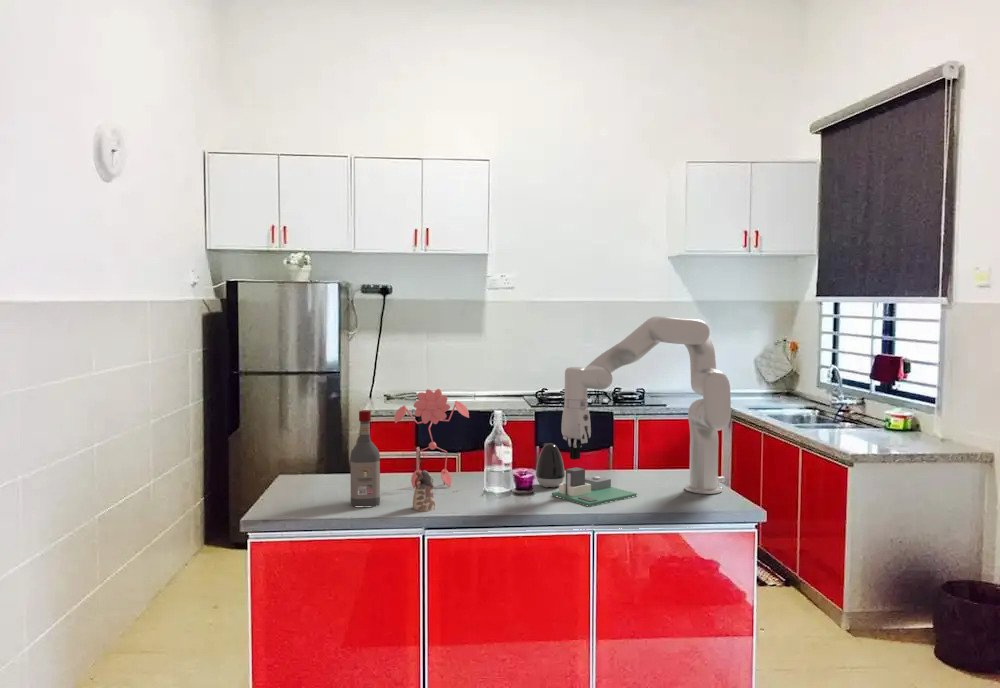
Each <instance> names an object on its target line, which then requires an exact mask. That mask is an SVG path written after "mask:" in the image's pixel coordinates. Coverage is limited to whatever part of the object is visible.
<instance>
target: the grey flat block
mask: <svg viewBox="0 0 1000 688" xmlns="http://www.w3.org/2000/svg"><path fill="white" fill-rule="evenodd" d="M585 483H588V484H591V489H594V490H600V489H605V488H610V487H612V479H611V478H607V477H604V476H603V477H602V476H599V475H594V476H589V477H585Z"/></svg>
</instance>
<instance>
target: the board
mask: <svg viewBox="0 0 1000 688" xmlns="http://www.w3.org/2000/svg"><path fill="white" fill-rule="evenodd" d="M552 495H554V496H553V497H555V496H558V497H561V498H560V499H562V498H564V499H563V500H565V499H567V500H566V501H569V500H571V501H570V502H572V501H574V502H573V503H575V502H578V503H577V504H579V503H581V504H580V505H582V504H584V505H583V506H586V505H588V506H587V507H589V506H590V507H593V506H592V505H594V506H598V505H597V504H599V505H602V504H601V503H604V504H606V503H605V502H608V503H611V502H610V501H613V502H616V501H615V500H618V501H621V500H620V499H622V500H625V499H624V498H627V499H629V498H628V497H631V498H633V497H632V496H636V495H637V496H638V494H637V492H632V491H628V490H624V489H621V488H616V487H612V486H611V487H610V488H605V489H600V490H594V489H591V493H590V494H585V495H580V496H575V497H573V496H569V495H568V494H567V493H566V494H562V493H559V490H558V491H553V492H551V496H552ZM637 496H636V497H637ZM558 497H557V498H558Z"/></svg>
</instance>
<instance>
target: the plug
mask: <svg viewBox="0 0 1000 688" xmlns="http://www.w3.org/2000/svg"><path fill="white" fill-rule="evenodd" d="M585 478H586V469H584V468H581V467H572V468H566V469H565V483H566V493H567V494H568V486H572V487H576V486H582V485H585Z"/></svg>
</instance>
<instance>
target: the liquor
mask: <svg viewBox="0 0 1000 688" xmlns="http://www.w3.org/2000/svg"><path fill="white" fill-rule="evenodd" d="M371 412H372V411H371V410H368V409H367V410H359V411H358V421H359V423H360V426H359V430H360V431H359V435H360V436H359V441H357V443H356V445H355V446H354V447H353V448H352V449H351V452H350V458H349V459H350V460H349V461H350V464H349V465H350V505H351V506H352V505H353V506H375V507H377V506H376V505H378V506H379V505H380V503H381V479H380V478H381V476H380V475H381V470H380V469H381V468H380V467H381V465H380V464H381V462H380V461H381V460H380V459H381V455H380V451H379V449H378V447H377V446H376V445H375V444H374V442H372V440H371V434H370V433H371V431H370V430H371V428H370V427H371V426H370V425H371V424H370V423H371V420H372V419H371V418H372V416H371V415H372V414H371Z"/></svg>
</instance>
